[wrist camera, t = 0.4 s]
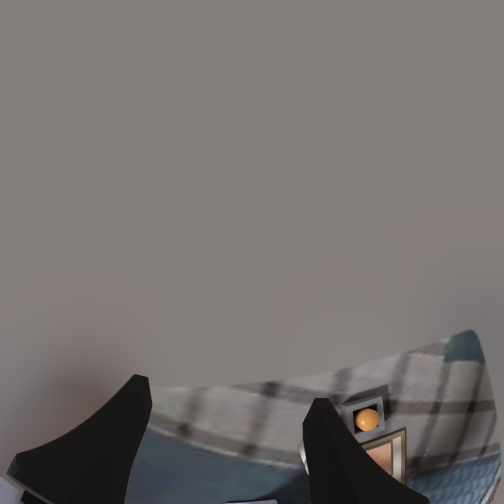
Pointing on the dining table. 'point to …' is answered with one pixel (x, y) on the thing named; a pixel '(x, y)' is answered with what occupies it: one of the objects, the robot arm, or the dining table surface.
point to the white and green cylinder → (303, 454)
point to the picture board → (389, 453)
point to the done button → (366, 419)
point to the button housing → (358, 404)
